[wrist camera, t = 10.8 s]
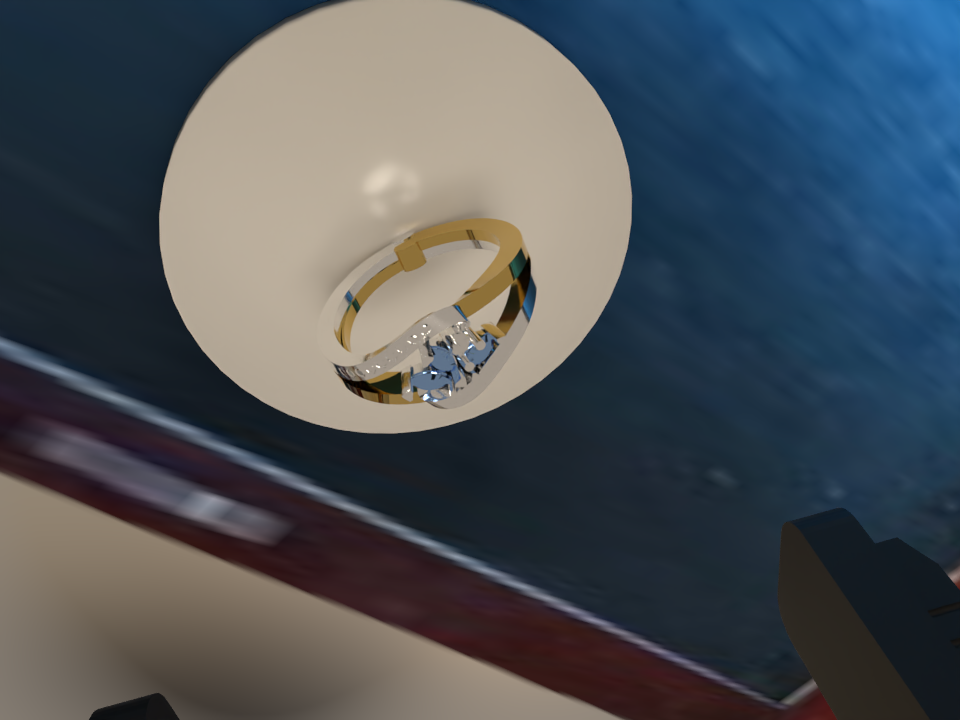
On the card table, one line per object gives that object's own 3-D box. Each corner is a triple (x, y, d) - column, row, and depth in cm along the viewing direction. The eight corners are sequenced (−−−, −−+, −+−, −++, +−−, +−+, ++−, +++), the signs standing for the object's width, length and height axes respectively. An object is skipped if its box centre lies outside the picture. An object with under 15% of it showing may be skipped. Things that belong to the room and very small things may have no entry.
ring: (484, 161, 29) (552, 277, 22) (515, 241, 31) (586, 369, 24) (291, 248, 29) (302, 387, 23) (334, 321, 31) (356, 469, 24)
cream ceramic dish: (606, -58, 27) (619, -51, 26) (630, 360, 36) (640, 376, 35) (81, 49, 26) (74, 61, 25) (245, 456, 35) (245, 476, 34)
